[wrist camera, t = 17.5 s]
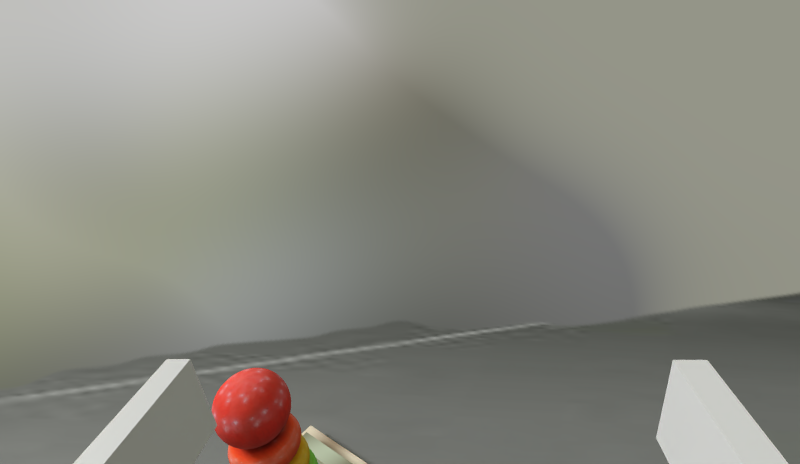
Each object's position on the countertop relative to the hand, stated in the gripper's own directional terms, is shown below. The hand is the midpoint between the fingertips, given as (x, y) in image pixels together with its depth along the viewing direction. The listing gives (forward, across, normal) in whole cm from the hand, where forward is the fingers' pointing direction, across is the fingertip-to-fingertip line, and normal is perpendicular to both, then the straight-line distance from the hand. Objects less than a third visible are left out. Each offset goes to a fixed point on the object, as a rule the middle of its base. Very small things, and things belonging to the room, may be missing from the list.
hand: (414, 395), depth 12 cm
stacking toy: (+10, -13, -29) cm, 33 cm away
